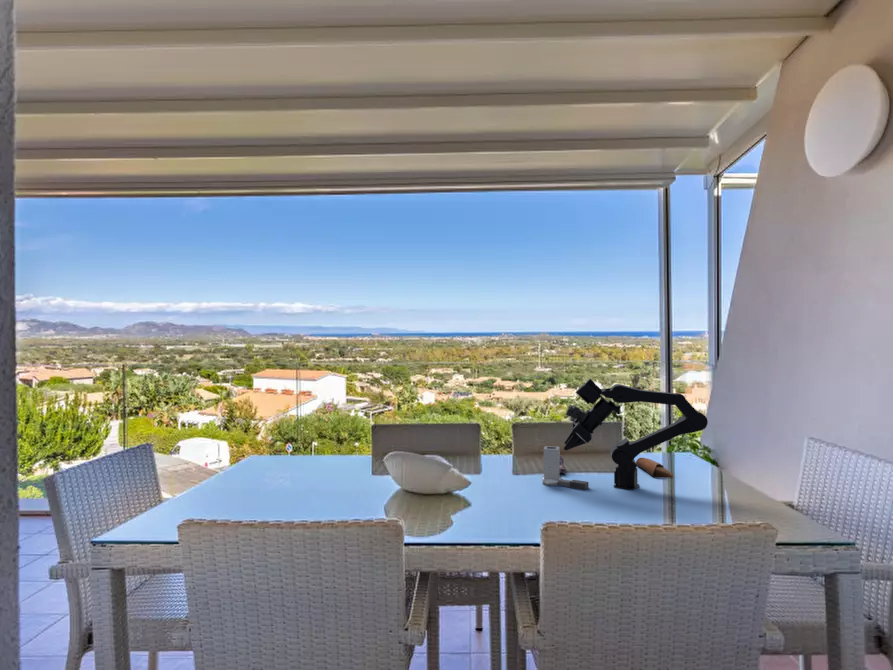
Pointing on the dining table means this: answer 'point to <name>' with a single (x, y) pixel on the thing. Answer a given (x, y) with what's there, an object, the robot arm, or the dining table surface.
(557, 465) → the socket
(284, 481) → the dining table surface
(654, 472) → the sunglasses case
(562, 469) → the skull
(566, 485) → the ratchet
